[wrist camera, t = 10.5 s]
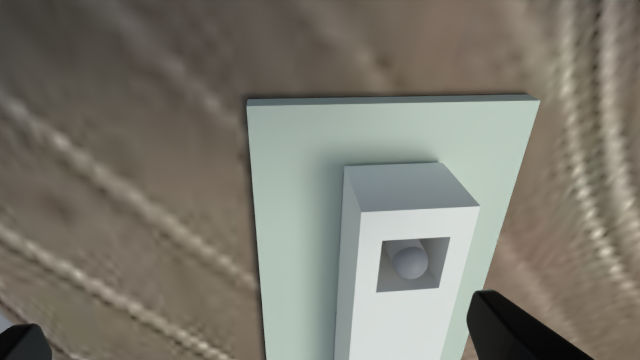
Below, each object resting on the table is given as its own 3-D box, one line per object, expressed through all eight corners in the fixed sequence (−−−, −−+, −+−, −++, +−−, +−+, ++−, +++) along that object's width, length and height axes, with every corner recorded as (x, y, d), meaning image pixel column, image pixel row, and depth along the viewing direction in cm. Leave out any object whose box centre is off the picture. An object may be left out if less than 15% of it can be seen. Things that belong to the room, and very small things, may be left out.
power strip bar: (442, 162, 19) (480, 206, 16) (403, 364, 27) (422, 423, 24) (344, 166, 19) (361, 212, 15) (333, 371, 27) (342, 432, 23)
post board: (528, 94, 19) (618, 140, 14) (448, 368, 30) (484, 449, 25) (247, 99, 18) (238, 152, 13) (269, 386, 29) (269, 475, 24)
